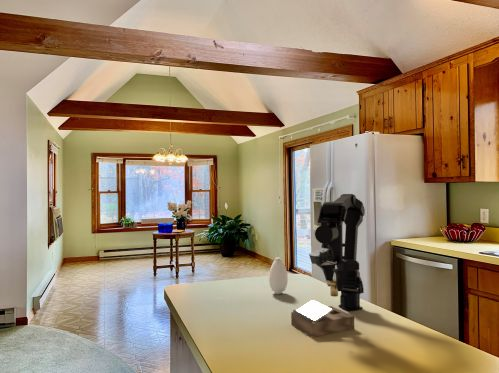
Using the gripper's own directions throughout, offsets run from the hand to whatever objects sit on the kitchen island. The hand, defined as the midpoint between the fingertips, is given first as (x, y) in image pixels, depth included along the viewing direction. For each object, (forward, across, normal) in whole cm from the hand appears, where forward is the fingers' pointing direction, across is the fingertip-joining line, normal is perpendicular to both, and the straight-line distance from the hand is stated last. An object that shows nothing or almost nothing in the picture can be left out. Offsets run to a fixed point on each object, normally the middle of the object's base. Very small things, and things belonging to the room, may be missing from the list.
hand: (334, 287), depth 124 cm
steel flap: (+7, 0, -8) cm, 10 cm away
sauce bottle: (+12, -41, +2) cm, 43 cm away
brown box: (+12, 0, -5) cm, 13 cm away
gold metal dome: (+2, 0, 0) cm, 2 cm away
